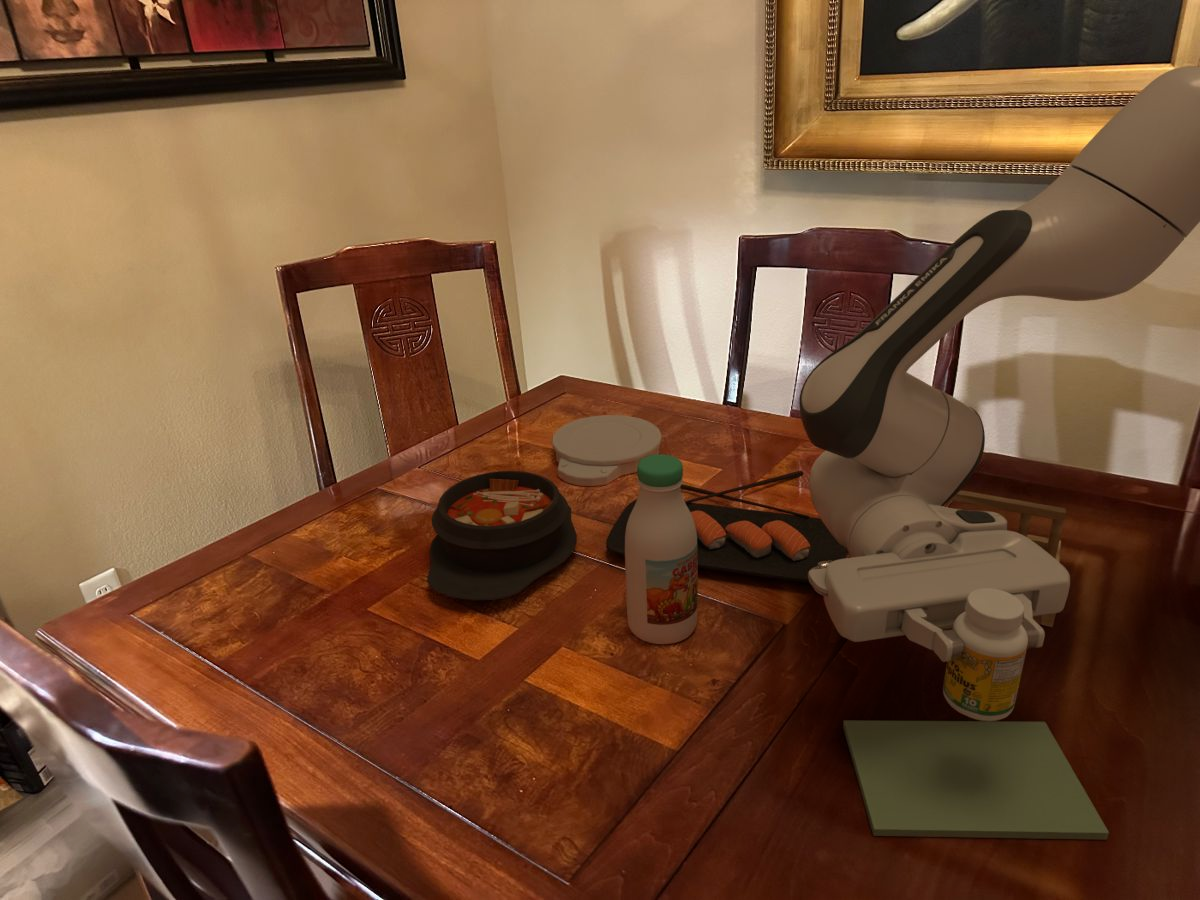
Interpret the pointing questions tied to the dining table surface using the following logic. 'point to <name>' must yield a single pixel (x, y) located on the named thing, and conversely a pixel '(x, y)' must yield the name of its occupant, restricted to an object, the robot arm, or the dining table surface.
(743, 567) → the sushi plate
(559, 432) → the kitchen scale
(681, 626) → the milk bottle
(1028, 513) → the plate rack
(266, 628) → the dining table surface
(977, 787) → the mat
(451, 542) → the casserole
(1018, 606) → the supplement bottle
